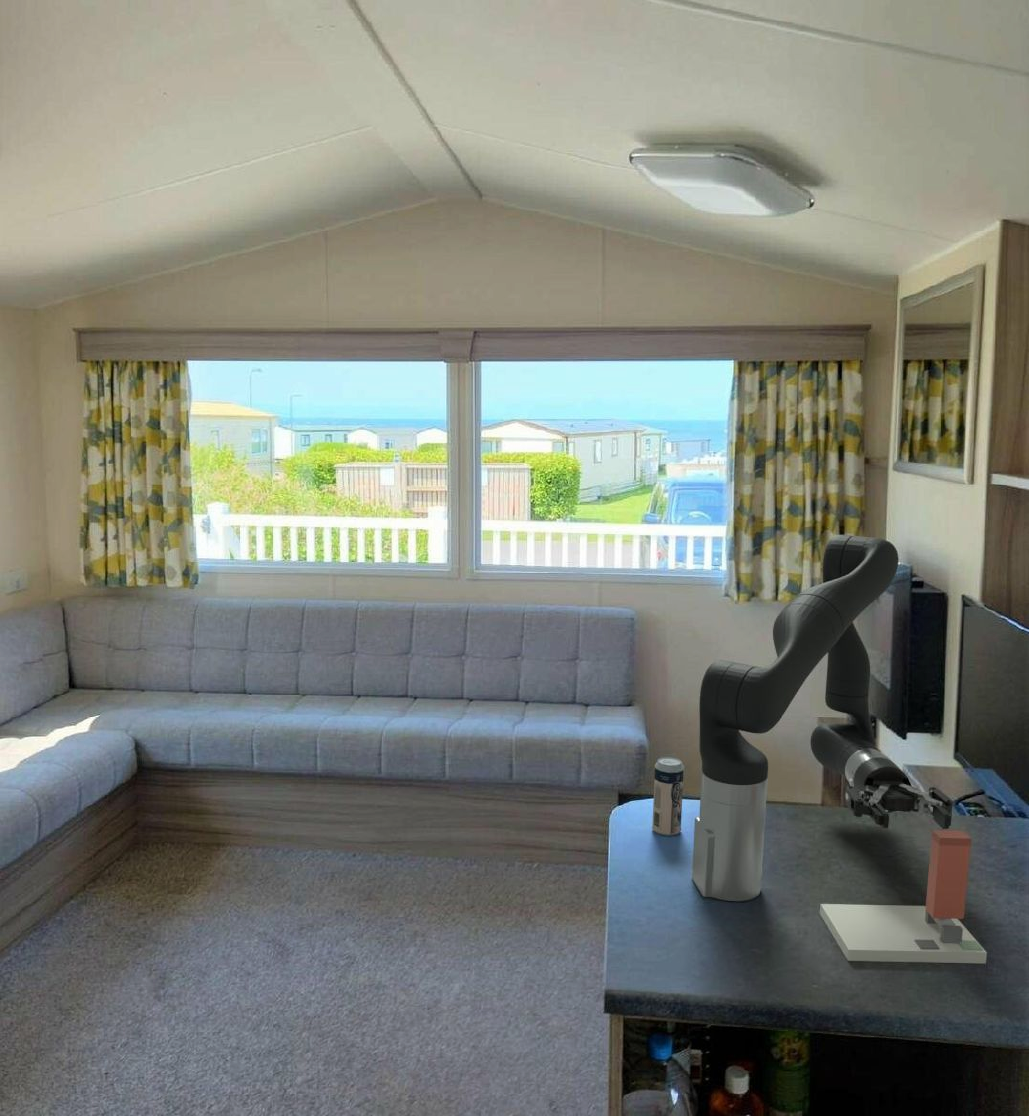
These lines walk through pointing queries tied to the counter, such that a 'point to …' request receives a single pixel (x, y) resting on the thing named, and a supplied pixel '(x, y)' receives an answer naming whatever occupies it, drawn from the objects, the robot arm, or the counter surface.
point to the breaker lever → (948, 876)
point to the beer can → (668, 796)
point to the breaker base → (898, 935)
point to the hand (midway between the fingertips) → (916, 822)
